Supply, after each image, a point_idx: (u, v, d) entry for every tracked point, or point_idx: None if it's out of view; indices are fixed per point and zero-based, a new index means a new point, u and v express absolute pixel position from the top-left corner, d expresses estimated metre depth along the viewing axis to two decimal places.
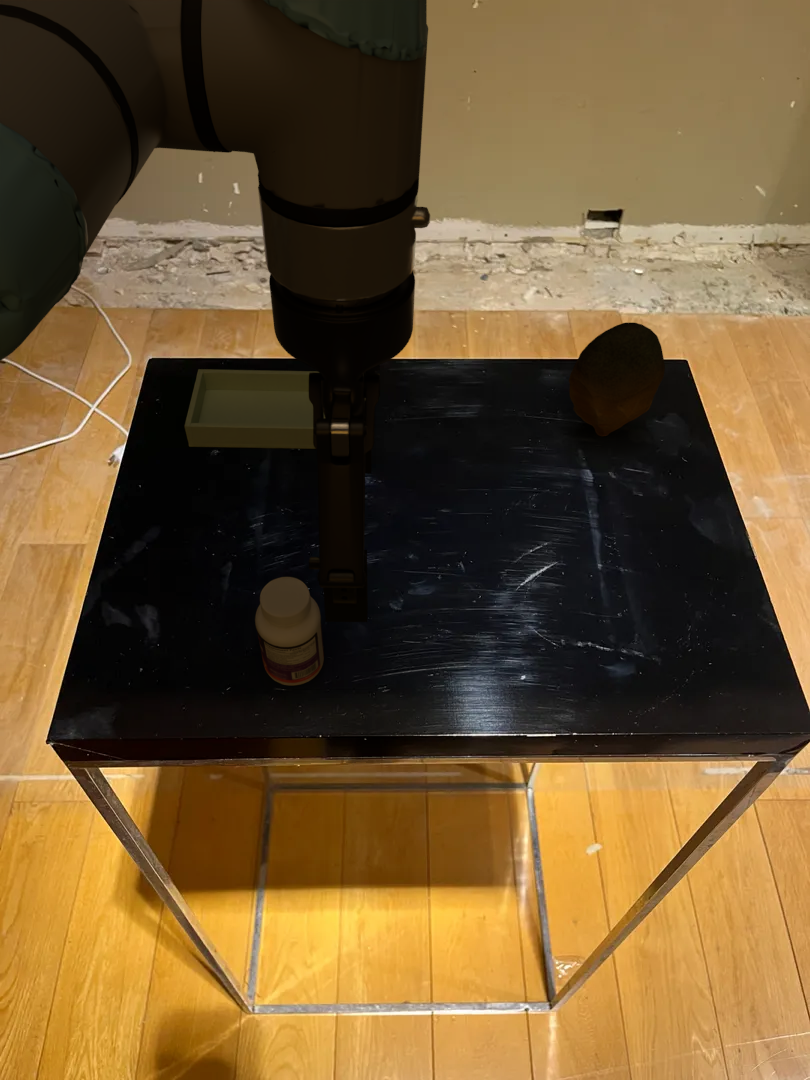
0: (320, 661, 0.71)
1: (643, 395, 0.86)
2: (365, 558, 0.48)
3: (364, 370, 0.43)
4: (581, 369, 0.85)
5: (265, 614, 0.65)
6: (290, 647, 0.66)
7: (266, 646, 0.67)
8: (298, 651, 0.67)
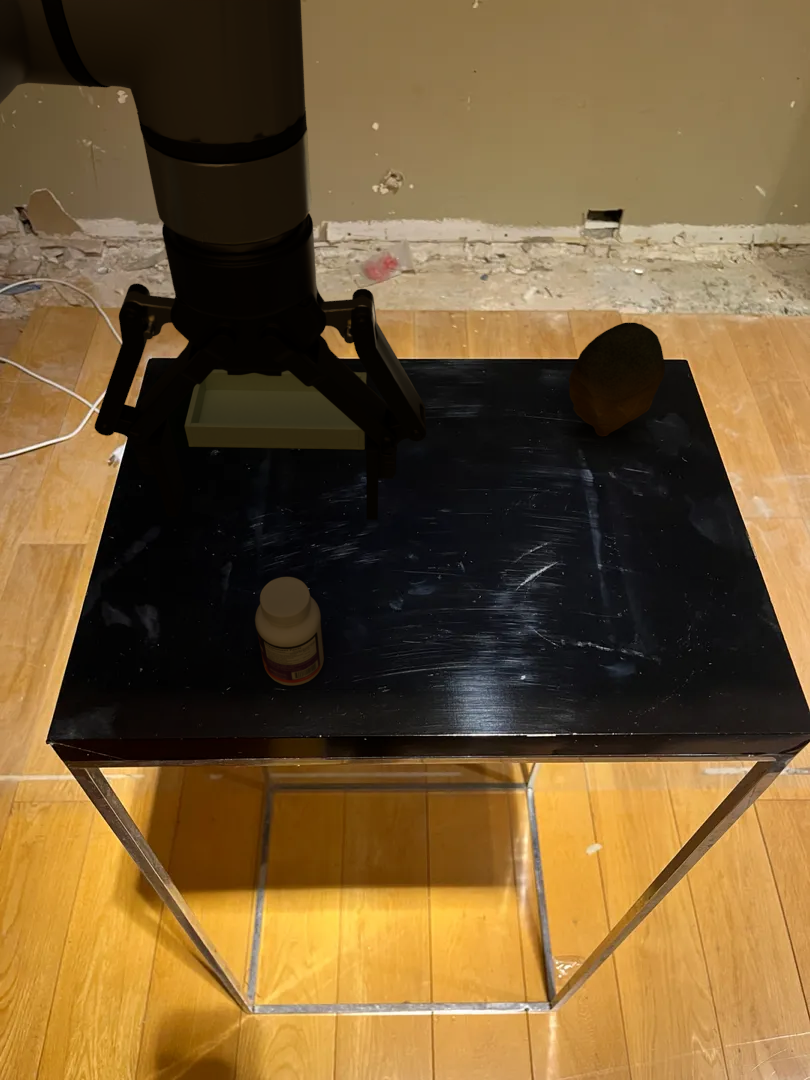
0: (320, 661, 0.71)
1: (643, 395, 0.86)
2: None
3: None
4: (581, 369, 0.85)
5: (265, 614, 0.65)
6: (290, 647, 0.67)
7: (266, 645, 0.67)
8: (298, 651, 0.67)
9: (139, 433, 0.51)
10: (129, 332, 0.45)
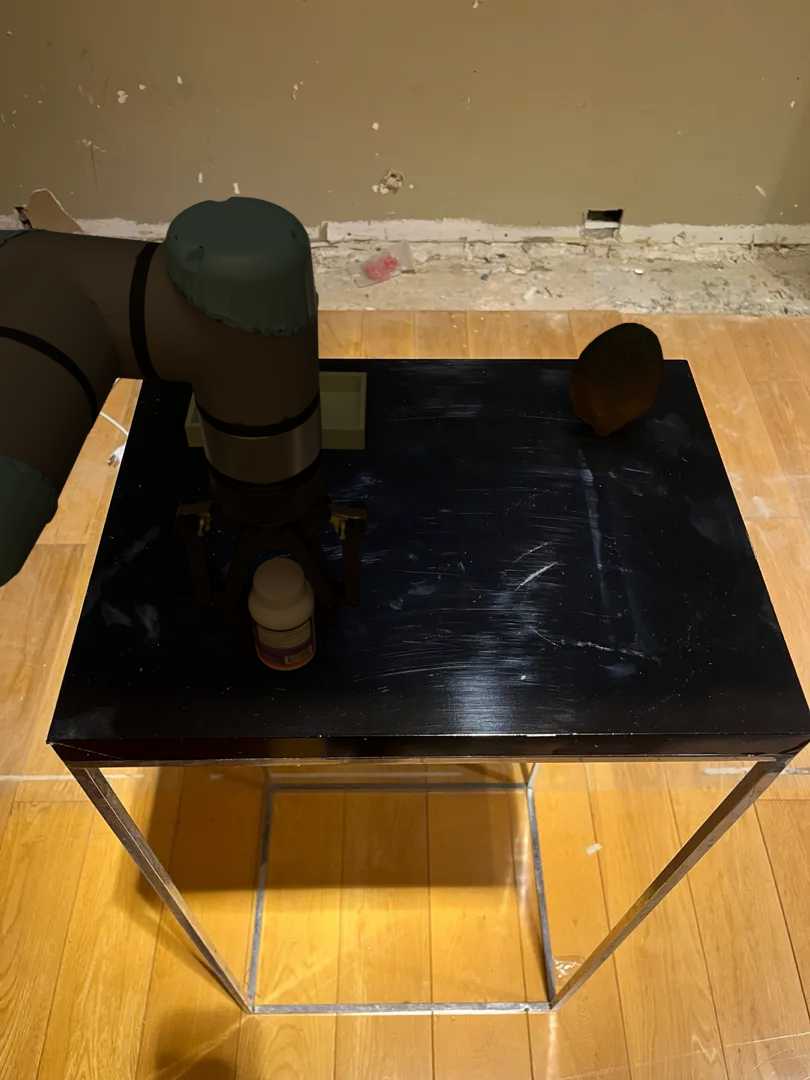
0: (314, 646, 0.69)
1: (643, 395, 0.86)
2: None
3: None
4: (581, 369, 0.85)
5: (258, 595, 0.63)
6: (284, 630, 0.65)
7: (259, 628, 0.65)
8: (292, 634, 0.65)
9: (229, 603, 0.64)
10: (187, 536, 0.58)
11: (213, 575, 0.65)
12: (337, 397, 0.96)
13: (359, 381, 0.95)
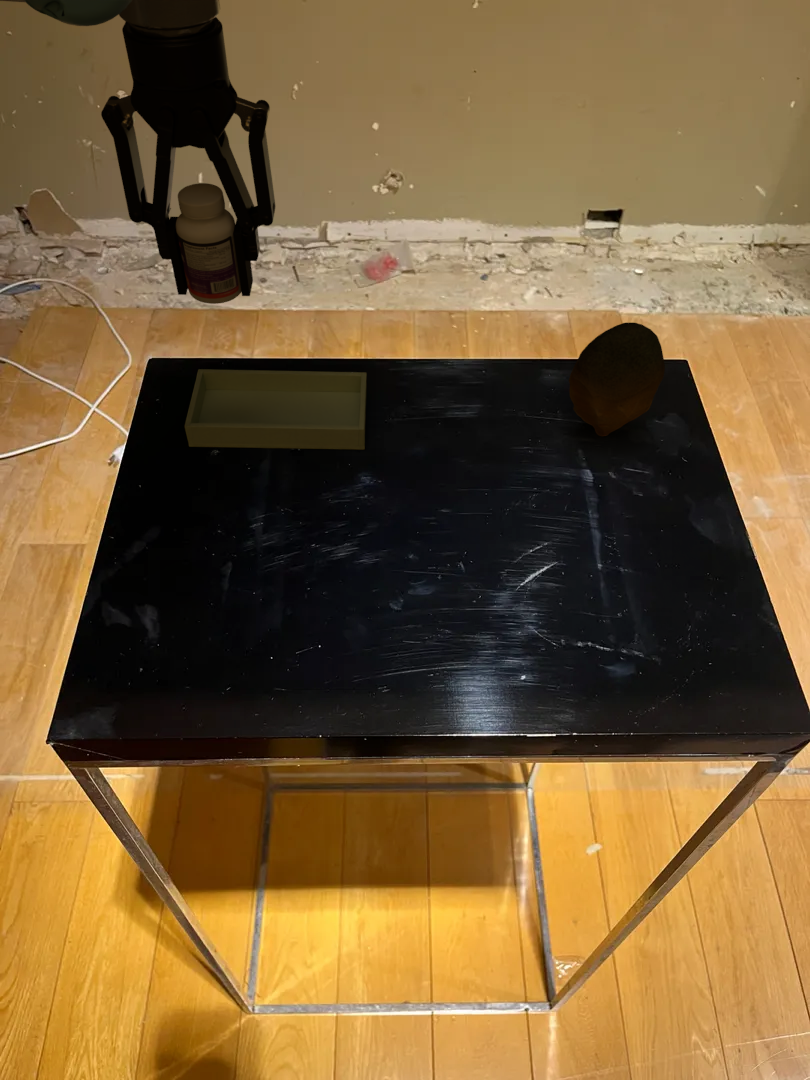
0: (238, 281, 0.79)
1: (643, 395, 0.86)
2: None
3: None
4: (581, 369, 0.85)
5: (182, 207, 0.73)
6: (206, 244, 0.74)
7: (185, 247, 0.75)
8: (214, 251, 0.75)
9: (158, 220, 0.74)
10: (113, 127, 0.68)
11: (144, 198, 0.74)
12: (337, 397, 0.96)
13: (359, 381, 0.95)
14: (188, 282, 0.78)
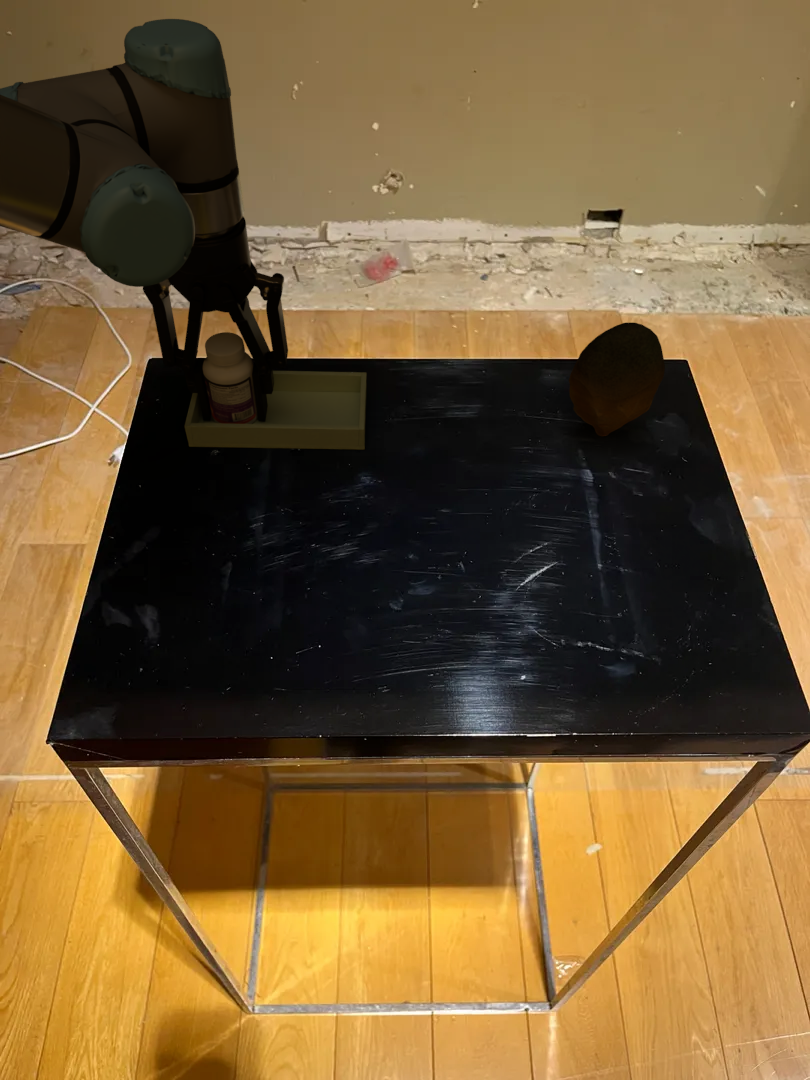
0: (255, 410, 0.91)
1: (643, 395, 0.86)
2: None
3: None
4: (581, 369, 0.85)
5: (209, 356, 0.85)
6: (229, 385, 0.87)
7: (211, 386, 0.87)
8: (236, 390, 0.87)
9: (187, 365, 0.86)
10: (152, 298, 0.80)
11: (176, 345, 0.87)
12: (337, 397, 0.96)
13: (359, 381, 0.95)
14: (212, 411, 0.91)
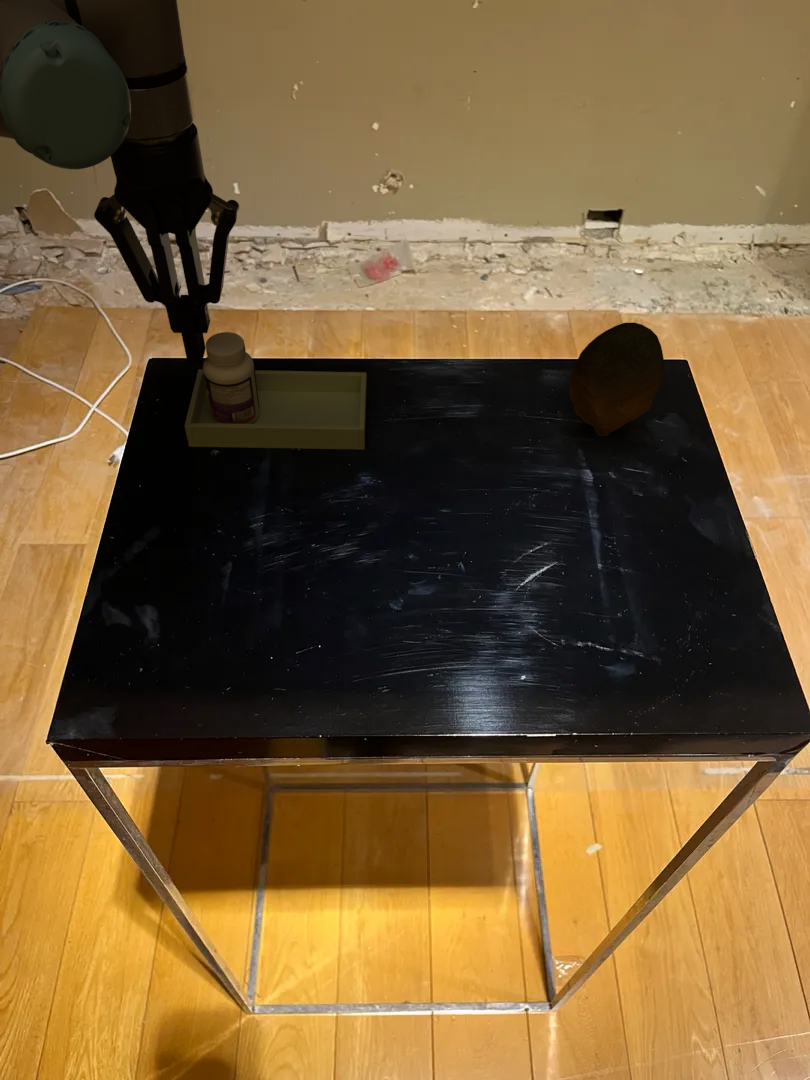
0: (255, 410, 0.91)
1: (643, 395, 0.86)
2: None
3: None
4: (581, 369, 0.85)
5: (209, 355, 0.85)
6: (229, 384, 0.87)
7: (211, 386, 0.87)
8: (236, 390, 0.87)
9: (168, 300, 0.80)
10: (108, 225, 0.74)
11: (154, 278, 0.81)
12: (337, 397, 0.96)
13: (359, 381, 0.95)
14: (212, 411, 0.91)
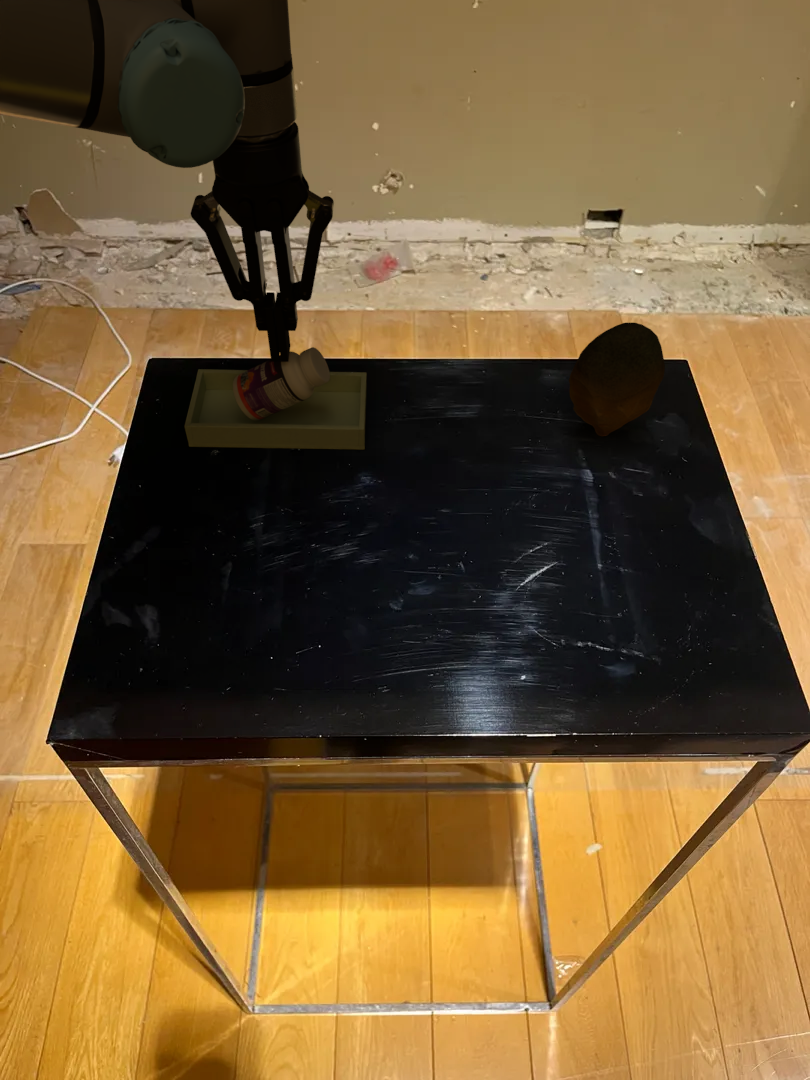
0: None
1: (643, 395, 0.86)
2: None
3: None
4: (581, 369, 0.85)
5: (307, 365, 0.86)
6: (295, 395, 0.88)
7: (278, 381, 0.87)
8: (292, 401, 0.89)
9: (257, 298, 0.80)
10: (203, 223, 0.74)
11: (242, 276, 0.81)
12: (337, 397, 0.96)
13: (359, 381, 0.95)
14: (245, 388, 0.88)
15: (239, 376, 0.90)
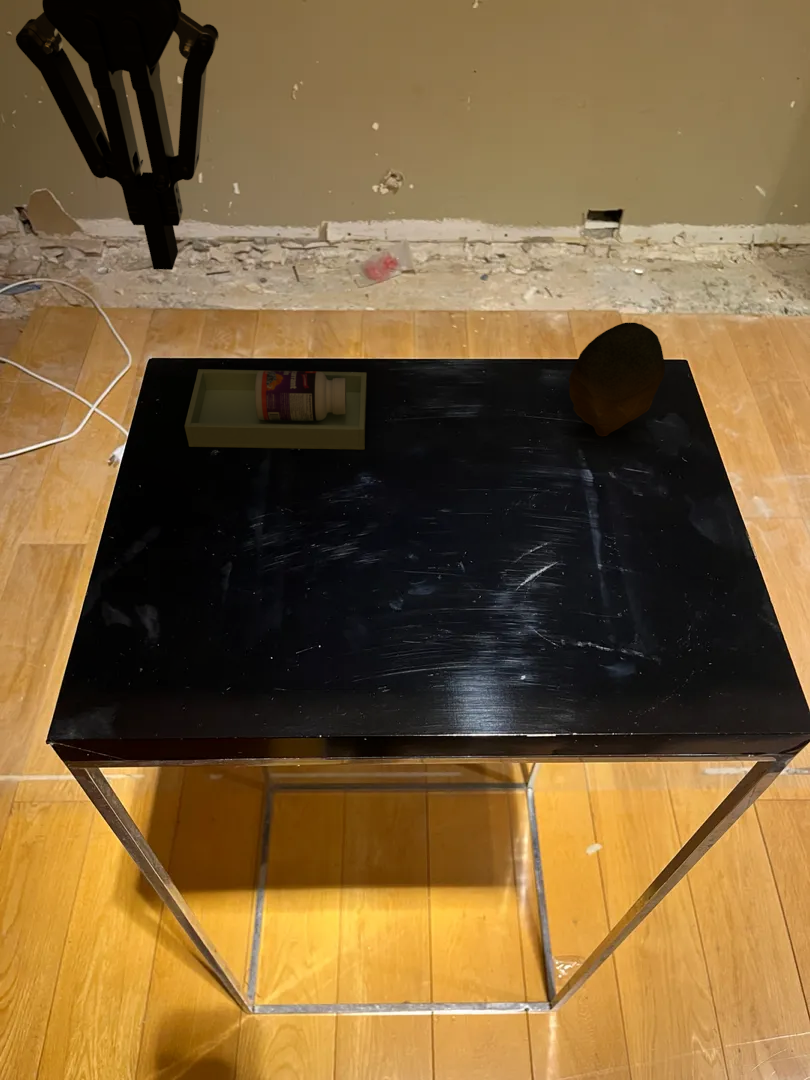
0: None
1: (643, 395, 0.86)
2: None
3: None
4: (581, 369, 0.85)
5: (339, 393, 0.90)
6: (315, 414, 0.90)
7: (307, 395, 0.89)
8: (307, 417, 0.91)
9: (124, 174, 0.60)
10: (36, 56, 0.54)
11: (106, 146, 0.60)
12: None
13: (359, 381, 0.95)
14: (270, 388, 0.89)
15: (265, 373, 0.90)
